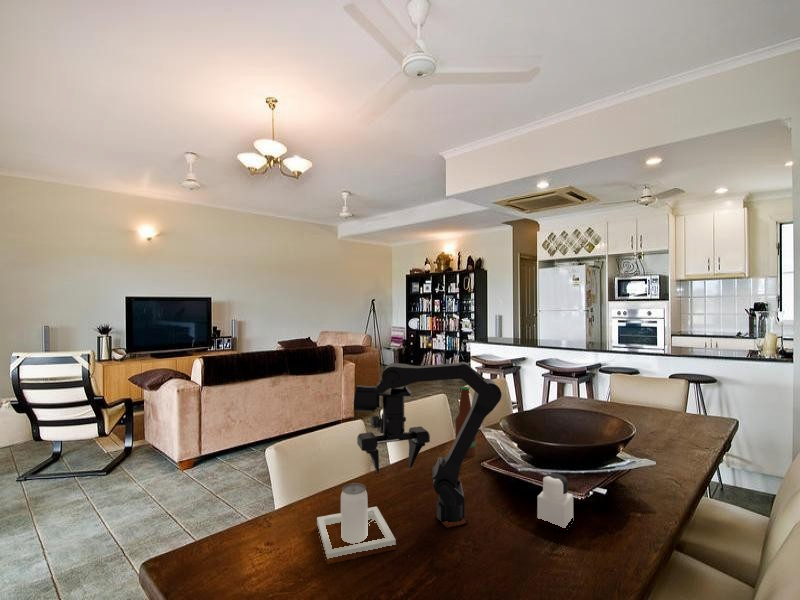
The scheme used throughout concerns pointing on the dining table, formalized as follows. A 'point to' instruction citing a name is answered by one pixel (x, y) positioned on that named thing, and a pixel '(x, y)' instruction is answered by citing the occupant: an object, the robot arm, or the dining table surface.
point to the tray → (365, 546)
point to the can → (354, 513)
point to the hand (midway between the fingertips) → (393, 470)
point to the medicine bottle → (555, 501)
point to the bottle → (464, 416)
